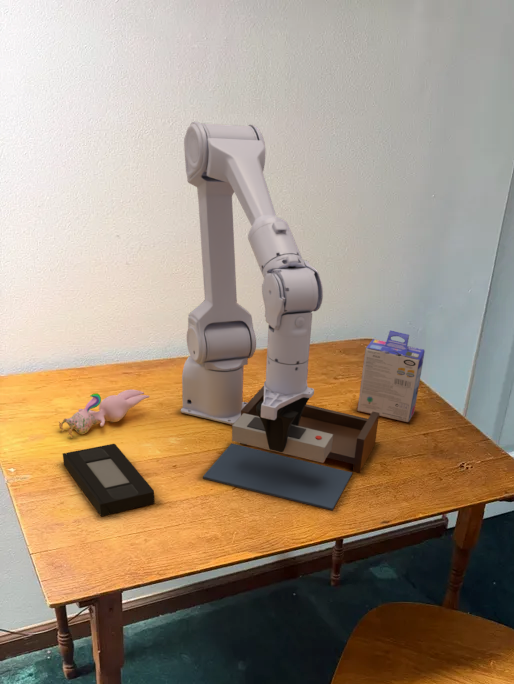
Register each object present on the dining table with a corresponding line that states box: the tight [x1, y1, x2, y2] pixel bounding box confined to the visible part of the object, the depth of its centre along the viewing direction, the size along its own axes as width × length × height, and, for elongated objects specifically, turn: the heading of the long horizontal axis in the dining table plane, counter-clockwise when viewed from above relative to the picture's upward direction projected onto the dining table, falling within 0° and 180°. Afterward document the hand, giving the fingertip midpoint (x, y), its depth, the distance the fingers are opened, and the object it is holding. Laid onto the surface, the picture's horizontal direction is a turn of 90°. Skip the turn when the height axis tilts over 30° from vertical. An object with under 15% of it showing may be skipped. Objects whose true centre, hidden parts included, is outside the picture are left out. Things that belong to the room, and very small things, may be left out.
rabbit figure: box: [58, 388, 150, 439], centre depth 123 cm, size 6×6×15 cm
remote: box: [231, 413, 333, 464], centre depth 116 cm, size 14×4×3 cm, turn 78°
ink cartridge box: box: [356, 330, 426, 423], centre depth 139 cm, size 10×6×14 cm, turn 78°
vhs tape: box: [62, 443, 156, 517], centre depth 111 cm, size 8×14×2 cm, turn 38°
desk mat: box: [202, 442, 353, 511], centre depth 120 cm, size 20×11×1 cm, turn 78°
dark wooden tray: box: [239, 385, 380, 474], centre depth 127 cm, size 20×10×6 cm, turn 78°
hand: (282, 442), depth 116 cm, fingers closed on remote, 4 cm apart
